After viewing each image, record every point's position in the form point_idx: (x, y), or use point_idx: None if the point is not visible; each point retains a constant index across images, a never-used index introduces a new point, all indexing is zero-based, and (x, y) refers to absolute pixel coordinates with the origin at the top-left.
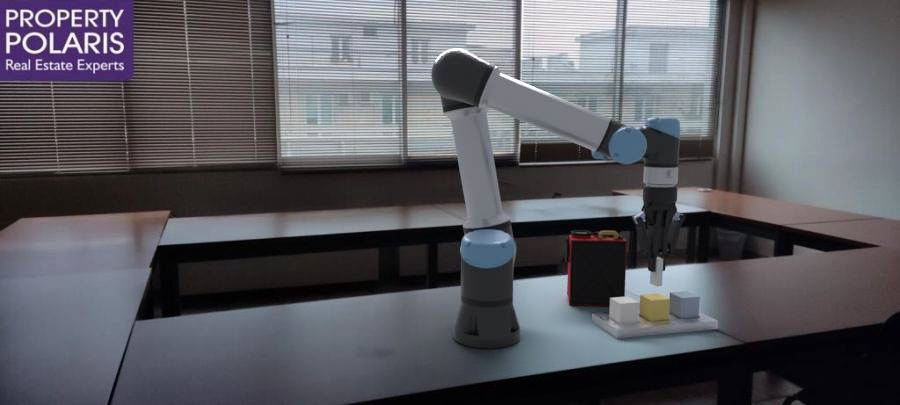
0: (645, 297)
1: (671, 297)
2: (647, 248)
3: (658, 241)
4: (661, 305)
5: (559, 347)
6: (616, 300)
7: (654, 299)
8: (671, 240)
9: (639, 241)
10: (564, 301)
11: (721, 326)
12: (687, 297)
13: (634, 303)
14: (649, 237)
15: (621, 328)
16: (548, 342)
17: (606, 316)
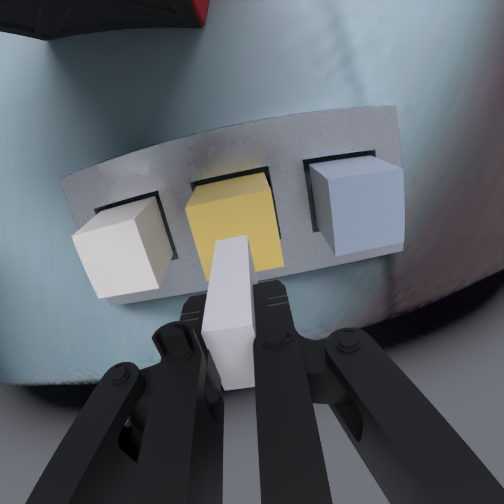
0: (195, 243)
1: (324, 188)
2: (138, 454)
3: (261, 453)
4: None
5: (27, 321)
6: (88, 267)
7: None
8: (373, 468)
9: (67, 455)
10: None
11: (413, 222)
12: (359, 249)
13: (143, 289)
14: (146, 501)
15: (120, 298)
16: (9, 299)
17: (92, 206)
